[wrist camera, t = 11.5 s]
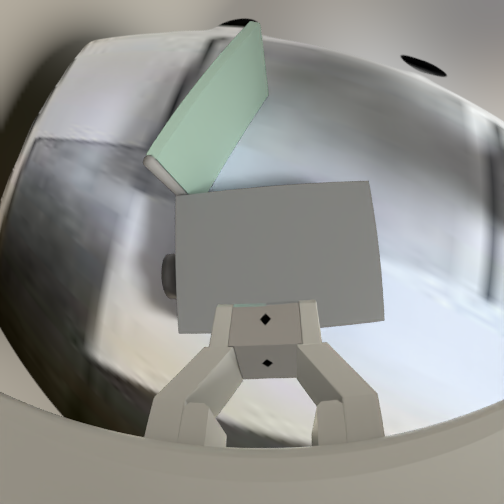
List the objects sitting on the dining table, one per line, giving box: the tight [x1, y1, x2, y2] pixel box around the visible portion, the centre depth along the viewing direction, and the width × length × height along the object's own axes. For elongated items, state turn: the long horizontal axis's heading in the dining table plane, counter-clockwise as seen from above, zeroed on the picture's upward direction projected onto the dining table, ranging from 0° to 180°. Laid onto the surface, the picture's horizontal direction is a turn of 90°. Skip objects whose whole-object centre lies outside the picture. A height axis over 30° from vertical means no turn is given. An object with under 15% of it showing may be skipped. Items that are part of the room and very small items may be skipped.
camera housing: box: [162, 181, 384, 334], centre depth 32 cm, size 22×14×7 cm, turn 93°
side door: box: [143, 21, 269, 196], centre depth 31 cm, size 20×2×14 cm, turn 152°
